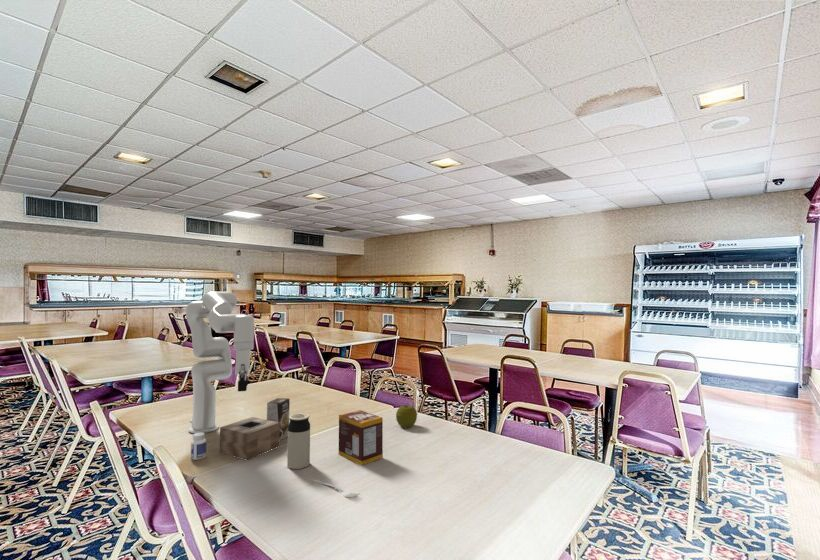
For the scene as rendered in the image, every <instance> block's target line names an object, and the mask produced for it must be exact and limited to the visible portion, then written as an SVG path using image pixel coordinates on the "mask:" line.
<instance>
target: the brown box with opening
mask: <svg viewBox="0 0 820 560" xmlns="http://www.w3.org/2000/svg"><path fill="white" fill-rule="evenodd" d="M279 434H280V422H275V421H270V420H267V419H265V418H259V417H256V416H255V417H254V416H250V417H248V418H245V419H243V420H239V421H236V422H233V423H230V424H227V425H224V426H220V428H219V453H220V454H224V455H227V456H231V457H234V456H235V457H234V458H237V457H238V459H241V458H242V459H241V460H245V459H246V460H245V461H250V460H251V458H252V459H254V458H256V456H257V457H259V456H261V455H263V454H266V453H267V451H268V452H270V451H272V450H271V449H273V450H275V449H277V448H279V447H280V441H279ZM278 446H279V447H278ZM276 447H277V448H276ZM274 448H275V449H274ZM269 450H270V451H269ZM265 452H266V453H265ZM262 453H263V454H262ZM260 454H261V455H260ZM258 455H259V456H258ZM253 457H254V458H253ZM249 459H250V460H249Z"/></svg>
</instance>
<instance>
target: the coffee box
mask: <svg viewBox="0 0 820 560" xmlns="http://www.w3.org/2000/svg"><path fill="white" fill-rule="evenodd" d="M290 400H291V399H290V398H285V397H281V398H280V397H279V398H278V397H276V398H275V399H273V400H271V401H268V402H267V403H266V406H267V407H266V420H270V421H275V422H280V434H279V442H280V441H281V440H283V439H284V438H286V437H288V425H289V423H290V419H289V416H290V403H291V402H290Z"/></svg>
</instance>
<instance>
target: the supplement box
mask: <svg viewBox="0 0 820 560" xmlns="http://www.w3.org/2000/svg"><path fill="white" fill-rule="evenodd" d="M383 420H384V418H383V416H379V415H376V414H372V413H369V412H367V411H363V410H361V409H358V410H357V409H356V410H352V411H349V412H345V413H340V414H338V455H339V456H341V457H343V458H346V459H348V460H349V461H352V462H354V463H356V464H358V465H359V466H363V465H366V464H369V463H372V462H375V461H377V460H381V459H383V454H384V453H383V448H384V447H383V445H384V444H383V442H384V441H383V437H384V436H383V434H384V433H383V430H384V429H383V427H384V426H383Z"/></svg>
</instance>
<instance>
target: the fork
mask: <svg viewBox="0 0 820 560" xmlns="http://www.w3.org/2000/svg"><path fill="white" fill-rule="evenodd" d="M313 482H315V483H317V484H320V485H323V486H327V487H331V488H335V489H336V490H337V491H338V493H339V494H342V493H344V492H345V490H343V489H341V488H340V487H339V486H337V485H333V484H331V483H327V482H325V481H323V480H320V479H317V480H316V479H313ZM359 495H361V493H360V492H359V493H356V492H354V493H353V492H349V493H347V494H344V495H343V497H344V498H356V496H359Z"/></svg>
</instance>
